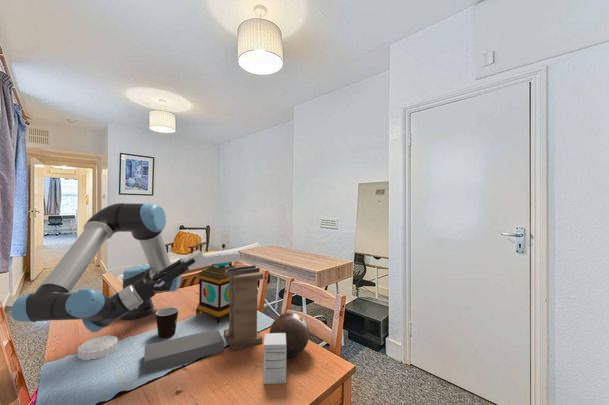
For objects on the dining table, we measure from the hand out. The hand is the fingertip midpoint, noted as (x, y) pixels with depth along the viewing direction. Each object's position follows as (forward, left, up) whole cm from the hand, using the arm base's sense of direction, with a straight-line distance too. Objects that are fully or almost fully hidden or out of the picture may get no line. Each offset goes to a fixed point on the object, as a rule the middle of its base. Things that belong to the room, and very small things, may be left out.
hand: (201, 253), depth 100 cm
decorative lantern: (-29, +15, -37) cm, 50 cm away
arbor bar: (0, +4, -4) cm, 6 cm away
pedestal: (0, +17, -37) cm, 41 cm away
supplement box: (+28, +19, -37) cm, 50 cm away
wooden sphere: (+19, +29, -37) cm, 51 cm away
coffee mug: (-20, -9, -37) cm, 43 cm away
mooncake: (-18, -33, -38) cm, 53 cm away
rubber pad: (0, -5, -37) cm, 38 cm away
